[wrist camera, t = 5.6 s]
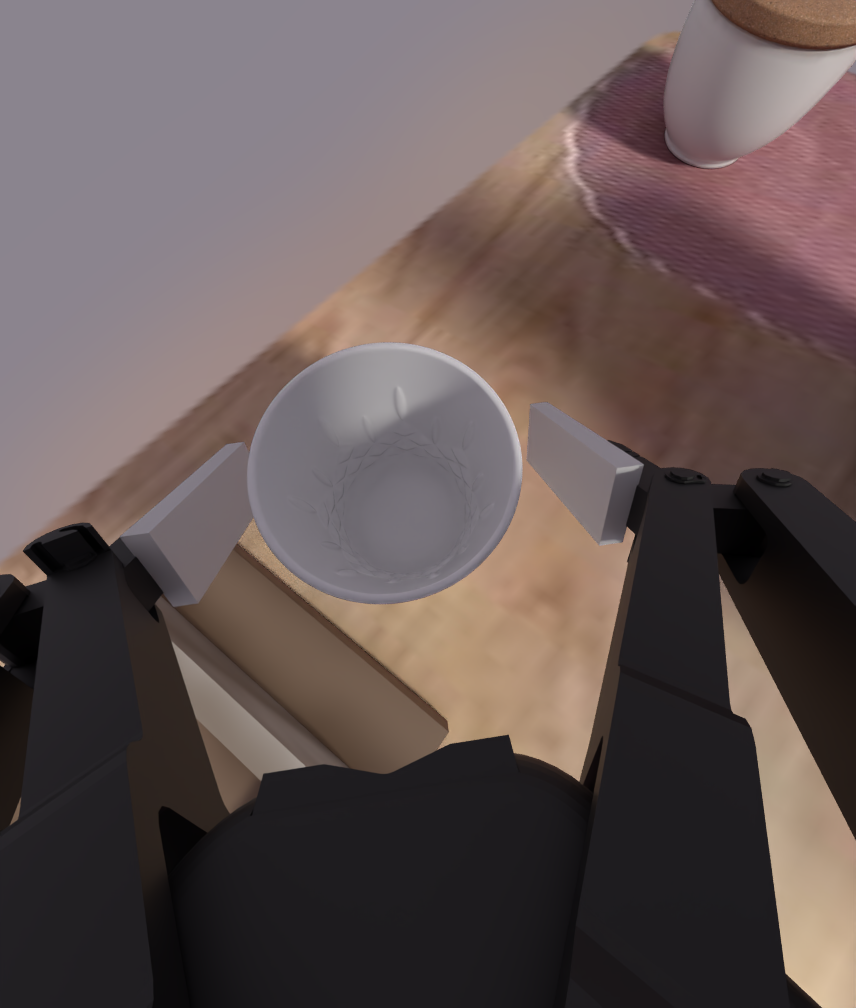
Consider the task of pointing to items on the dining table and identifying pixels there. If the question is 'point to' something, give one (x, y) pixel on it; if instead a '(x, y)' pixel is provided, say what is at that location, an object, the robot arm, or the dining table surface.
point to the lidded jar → (751, 73)
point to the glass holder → (287, 686)
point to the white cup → (384, 473)
